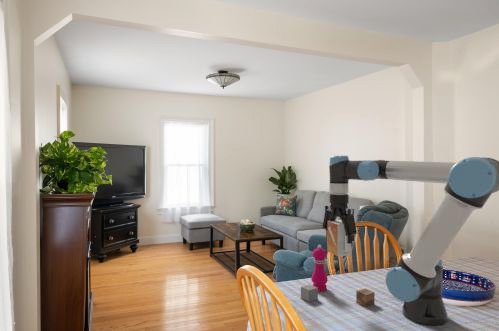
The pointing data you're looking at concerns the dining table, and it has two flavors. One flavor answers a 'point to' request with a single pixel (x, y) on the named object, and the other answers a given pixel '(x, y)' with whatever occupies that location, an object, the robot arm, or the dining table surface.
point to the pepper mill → (319, 269)
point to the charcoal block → (309, 293)
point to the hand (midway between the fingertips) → (338, 248)
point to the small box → (336, 238)
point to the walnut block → (365, 297)
